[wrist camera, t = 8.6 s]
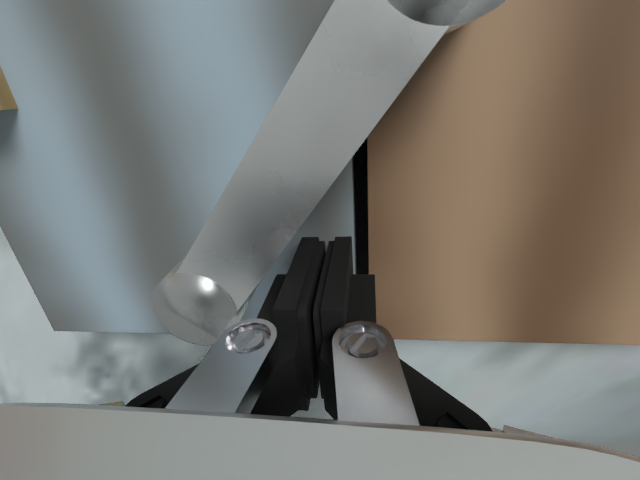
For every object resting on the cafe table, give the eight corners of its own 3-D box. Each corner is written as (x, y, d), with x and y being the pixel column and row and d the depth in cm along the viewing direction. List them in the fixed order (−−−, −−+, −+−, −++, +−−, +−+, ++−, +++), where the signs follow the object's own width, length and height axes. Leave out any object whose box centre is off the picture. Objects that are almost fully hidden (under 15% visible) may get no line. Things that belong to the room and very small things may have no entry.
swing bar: (423, -165, 7) (457, -304, 5) (529, -61, 8) (614, -132, 5) (179, 261, 13) (131, 310, 10) (250, 305, 13) (222, 362, 11)
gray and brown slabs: (920, -210, 8) (1566, -540, 4) (683, 297, 15) (822, 394, 10) (-49, -59, 12) (-291, -138, 8) (98, 293, 18) (14, 363, 14)
